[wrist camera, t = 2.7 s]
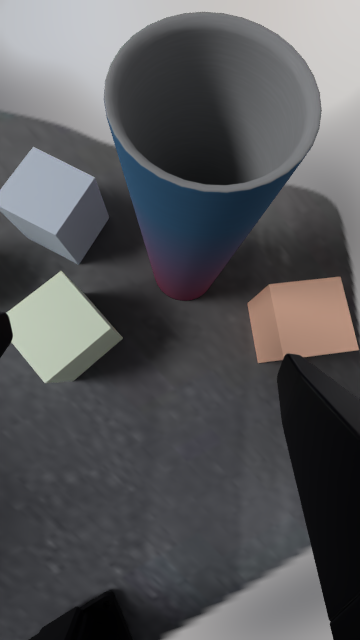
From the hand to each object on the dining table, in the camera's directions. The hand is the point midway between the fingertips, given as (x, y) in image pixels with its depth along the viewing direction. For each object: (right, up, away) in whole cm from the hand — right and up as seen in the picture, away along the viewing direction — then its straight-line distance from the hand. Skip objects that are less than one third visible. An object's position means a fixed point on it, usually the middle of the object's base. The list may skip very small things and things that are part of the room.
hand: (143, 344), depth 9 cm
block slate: (-8, +9, +15) cm, 19 cm away
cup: (+1, +5, +15) cm, 15 cm away
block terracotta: (+10, 0, +14) cm, 17 cm away
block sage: (-7, 0, +13) cm, 15 cm away
